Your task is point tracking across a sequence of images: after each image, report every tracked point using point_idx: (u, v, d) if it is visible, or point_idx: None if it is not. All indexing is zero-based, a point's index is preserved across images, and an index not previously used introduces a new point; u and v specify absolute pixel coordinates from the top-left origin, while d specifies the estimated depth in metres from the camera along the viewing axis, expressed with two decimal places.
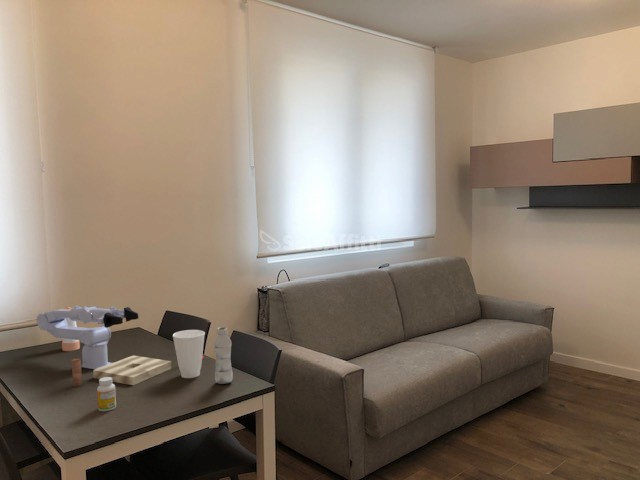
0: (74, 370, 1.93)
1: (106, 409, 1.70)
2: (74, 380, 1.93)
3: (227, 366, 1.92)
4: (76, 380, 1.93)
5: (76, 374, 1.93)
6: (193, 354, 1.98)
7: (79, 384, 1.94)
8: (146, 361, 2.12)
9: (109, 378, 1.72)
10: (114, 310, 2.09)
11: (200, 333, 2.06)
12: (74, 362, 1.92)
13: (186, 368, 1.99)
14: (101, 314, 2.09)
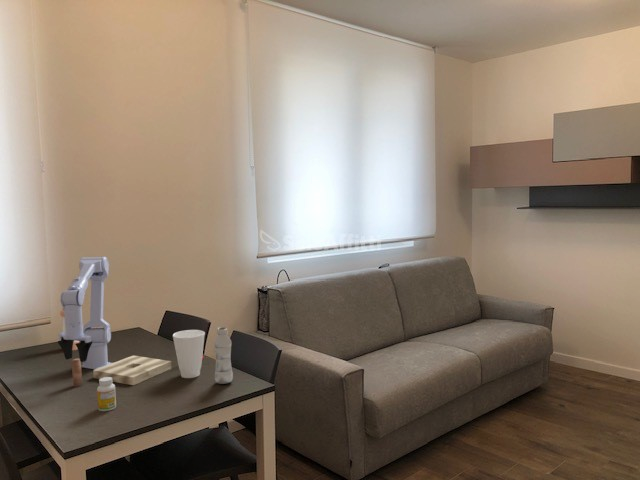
0: (74, 370, 1.93)
1: (106, 409, 1.70)
2: (74, 380, 1.93)
3: (227, 366, 1.92)
4: (76, 380, 1.93)
5: (76, 374, 1.93)
6: (193, 354, 1.98)
7: (79, 384, 1.94)
8: (146, 361, 2.12)
9: (109, 378, 1.72)
10: None
11: (200, 333, 2.06)
12: (74, 362, 1.92)
13: (186, 368, 1.99)
14: None
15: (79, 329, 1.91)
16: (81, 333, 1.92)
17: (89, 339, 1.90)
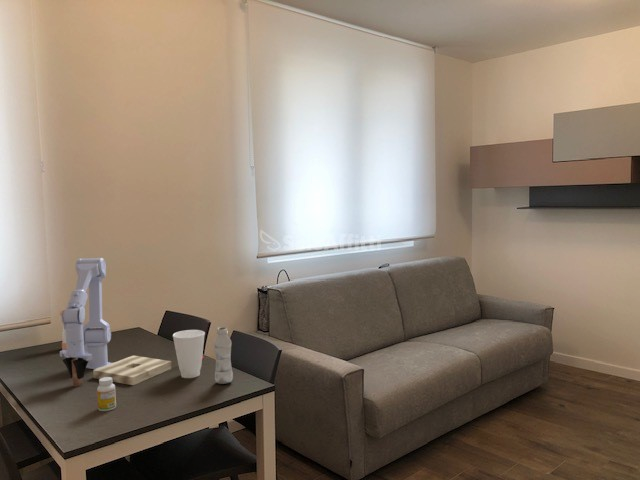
0: (74, 370, 1.93)
1: (106, 409, 1.70)
2: (74, 380, 1.93)
3: (227, 366, 1.92)
4: (76, 380, 1.93)
5: (76, 374, 1.93)
6: (193, 354, 1.98)
7: (79, 384, 1.94)
8: (146, 361, 2.12)
9: (109, 378, 1.72)
10: None
11: (200, 333, 2.06)
12: None
13: (186, 368, 1.99)
14: None
15: (80, 347, 1.92)
16: (82, 351, 1.93)
17: (90, 357, 1.90)
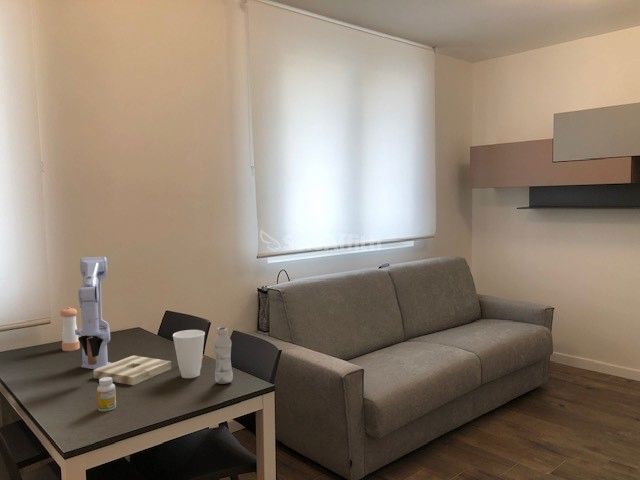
0: (89, 348, 1.95)
1: (106, 409, 1.70)
2: (89, 358, 1.96)
3: (227, 366, 1.92)
4: (91, 358, 1.96)
5: (91, 352, 1.95)
6: (193, 354, 1.98)
7: (94, 362, 1.96)
8: (146, 361, 2.12)
9: (109, 378, 1.72)
10: None
11: (200, 333, 2.06)
12: None
13: (186, 368, 1.99)
14: None
15: (95, 325, 1.95)
16: (97, 329, 1.96)
17: (104, 335, 1.93)
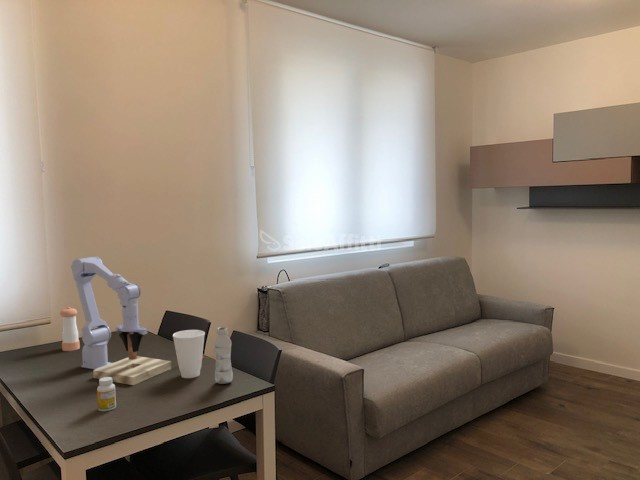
0: (130, 344, 2.04)
1: (106, 409, 1.70)
2: (130, 353, 2.05)
3: (227, 366, 1.92)
4: (131, 353, 2.04)
5: (131, 347, 2.04)
6: (193, 354, 1.98)
7: (134, 357, 2.05)
8: (146, 361, 2.12)
9: (109, 378, 1.72)
10: None
11: (200, 333, 2.06)
12: None
13: (186, 368, 1.99)
14: None
15: (135, 322, 2.03)
16: (137, 326, 2.04)
17: (145, 331, 2.02)
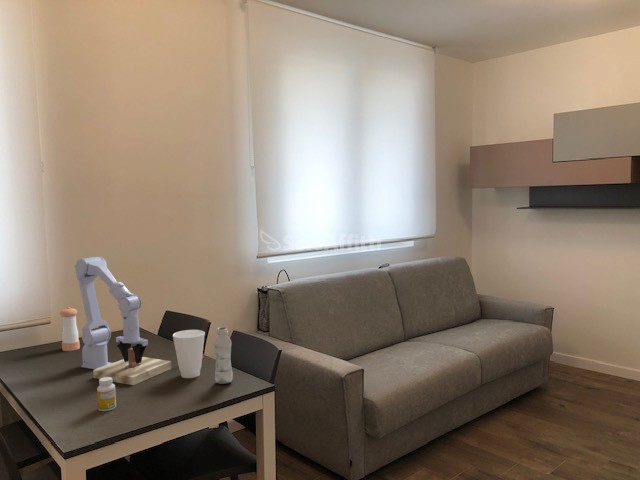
0: (130, 359, 2.05)
1: (106, 409, 1.70)
2: None
3: (227, 366, 1.92)
4: None
5: (132, 362, 2.05)
6: (193, 354, 1.98)
7: None
8: (146, 361, 2.12)
9: (109, 378, 1.72)
10: None
11: (200, 333, 2.06)
12: (131, 351, 2.04)
13: (186, 368, 1.99)
14: None
15: (136, 333, 2.04)
16: (138, 337, 2.05)
17: (146, 343, 2.02)
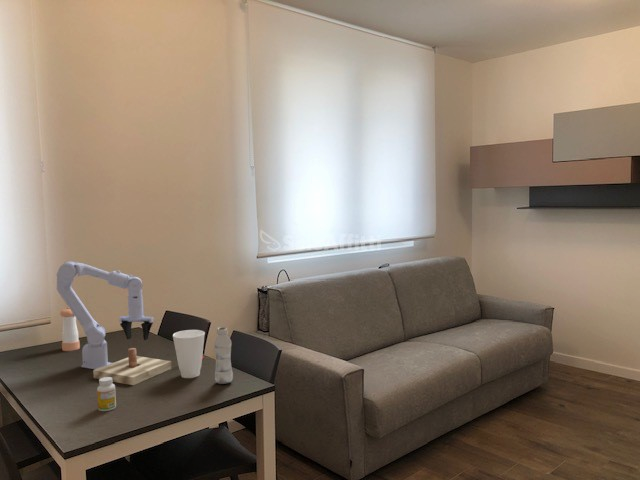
0: (130, 359, 2.05)
1: (106, 409, 1.70)
2: None
3: (227, 366, 1.92)
4: None
5: (132, 362, 2.05)
6: (193, 354, 1.98)
7: None
8: (146, 361, 2.12)
9: (109, 378, 1.72)
10: None
11: (200, 333, 2.06)
12: (130, 351, 2.04)
13: (186, 368, 1.99)
14: None
15: (142, 311, 2.18)
16: (143, 315, 2.19)
17: (152, 320, 2.18)
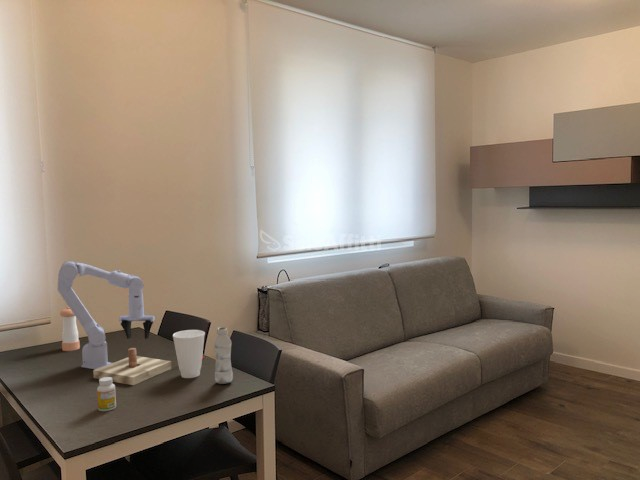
0: (130, 359, 2.05)
1: (106, 409, 1.70)
2: None
3: (227, 366, 1.92)
4: None
5: (132, 362, 2.05)
6: (193, 354, 1.98)
7: None
8: (146, 361, 2.12)
9: (109, 378, 1.72)
10: None
11: (200, 333, 2.06)
12: (130, 351, 2.04)
13: (186, 368, 1.99)
14: (129, 308, 2.20)
15: (142, 310, 2.20)
16: (143, 314, 2.21)
17: (153, 318, 2.20)
